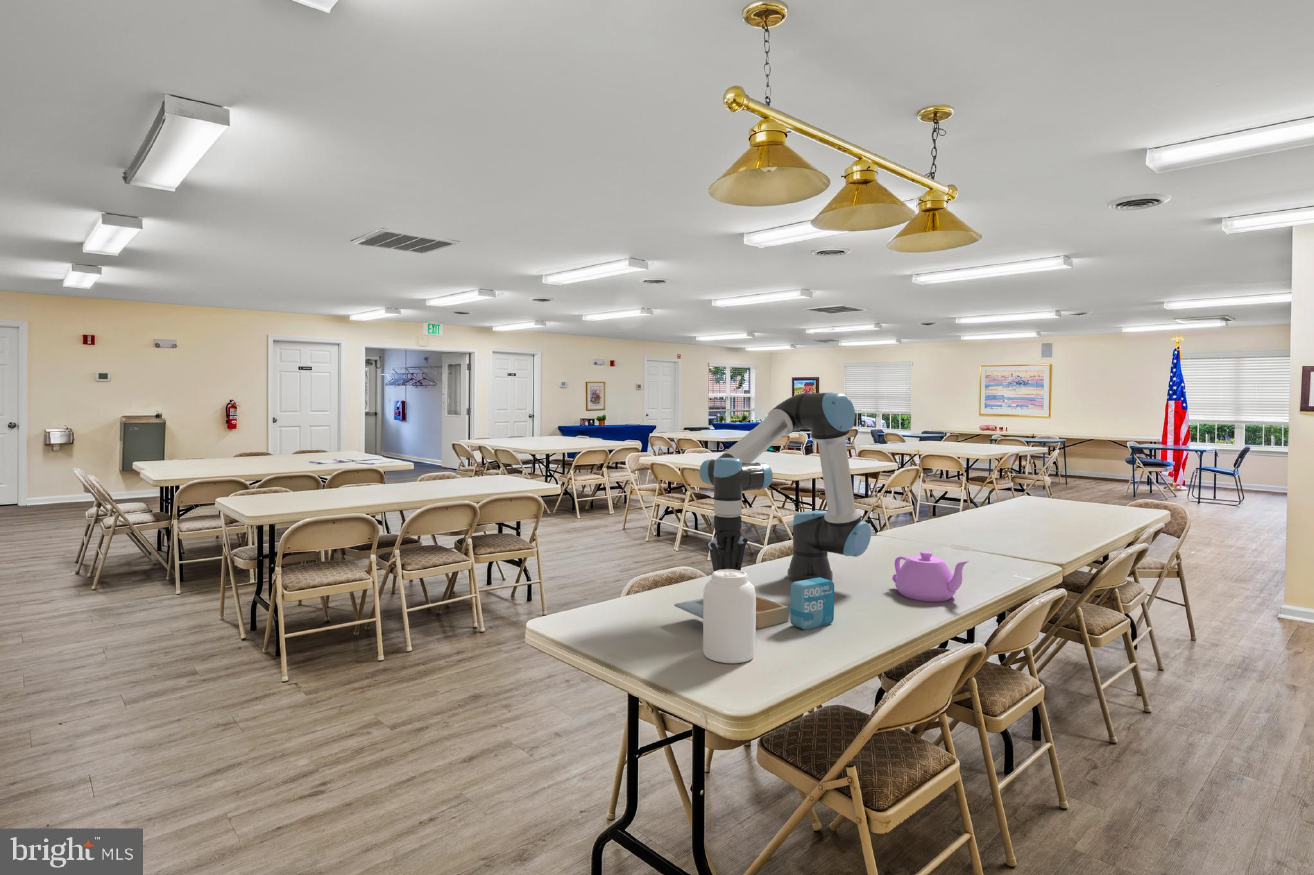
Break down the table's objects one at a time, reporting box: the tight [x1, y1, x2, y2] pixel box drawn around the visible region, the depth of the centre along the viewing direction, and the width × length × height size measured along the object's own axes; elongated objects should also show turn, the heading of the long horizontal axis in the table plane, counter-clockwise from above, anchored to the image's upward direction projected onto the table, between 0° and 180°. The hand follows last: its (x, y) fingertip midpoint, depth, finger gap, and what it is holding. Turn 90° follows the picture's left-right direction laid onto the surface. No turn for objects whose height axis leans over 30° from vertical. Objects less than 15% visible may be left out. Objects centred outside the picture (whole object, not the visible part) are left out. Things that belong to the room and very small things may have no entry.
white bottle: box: [702, 569, 757, 664], centre depth 162 cm, size 12×12×20 cm
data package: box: [789, 577, 835, 631], centre depth 184 cm, size 12×4×12 cm, turn 121°
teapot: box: [892, 550, 969, 603], centre depth 212 cm, size 25×18×14 cm
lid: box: [673, 598, 703, 620], centre depth 183 cm, size 11×17×4 cm, turn 33°
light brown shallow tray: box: [756, 595, 790, 629], centre depth 192 cm, size 11×17×4 cm, turn 33°
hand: (727, 600), depth 186 cm, fingers closed
